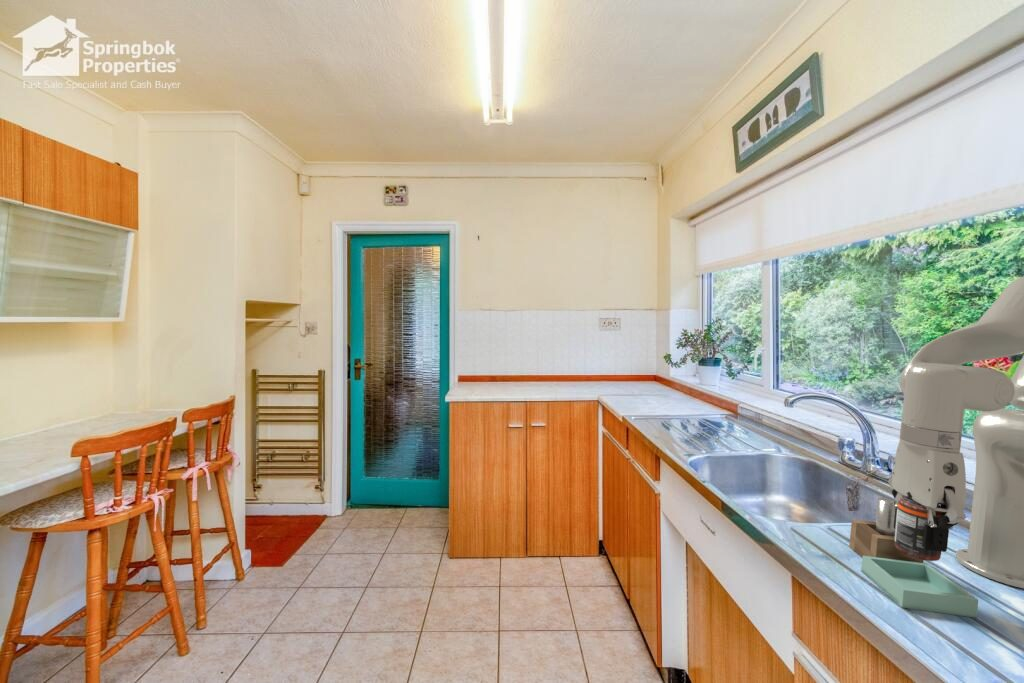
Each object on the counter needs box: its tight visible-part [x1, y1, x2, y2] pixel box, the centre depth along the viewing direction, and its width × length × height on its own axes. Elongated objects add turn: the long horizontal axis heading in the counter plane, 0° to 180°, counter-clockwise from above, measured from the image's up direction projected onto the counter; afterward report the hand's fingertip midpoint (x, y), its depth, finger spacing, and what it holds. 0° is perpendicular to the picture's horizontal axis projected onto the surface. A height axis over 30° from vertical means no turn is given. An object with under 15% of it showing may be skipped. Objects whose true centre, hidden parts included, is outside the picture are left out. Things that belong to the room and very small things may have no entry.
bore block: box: [849, 518, 925, 563], centre depth 86 cm, size 8×8×6 cm
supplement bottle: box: [895, 492, 942, 562], centre depth 75 cm, size 6×6×11 cm
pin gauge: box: [875, 497, 897, 537], centre depth 86 cm, size 3×3×12 cm
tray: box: [860, 556, 979, 618], centre depth 75 cm, size 11×11×3 cm
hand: (918, 538), depth 75 cm, fingers closed on supplement bottle, 6 cm apart
